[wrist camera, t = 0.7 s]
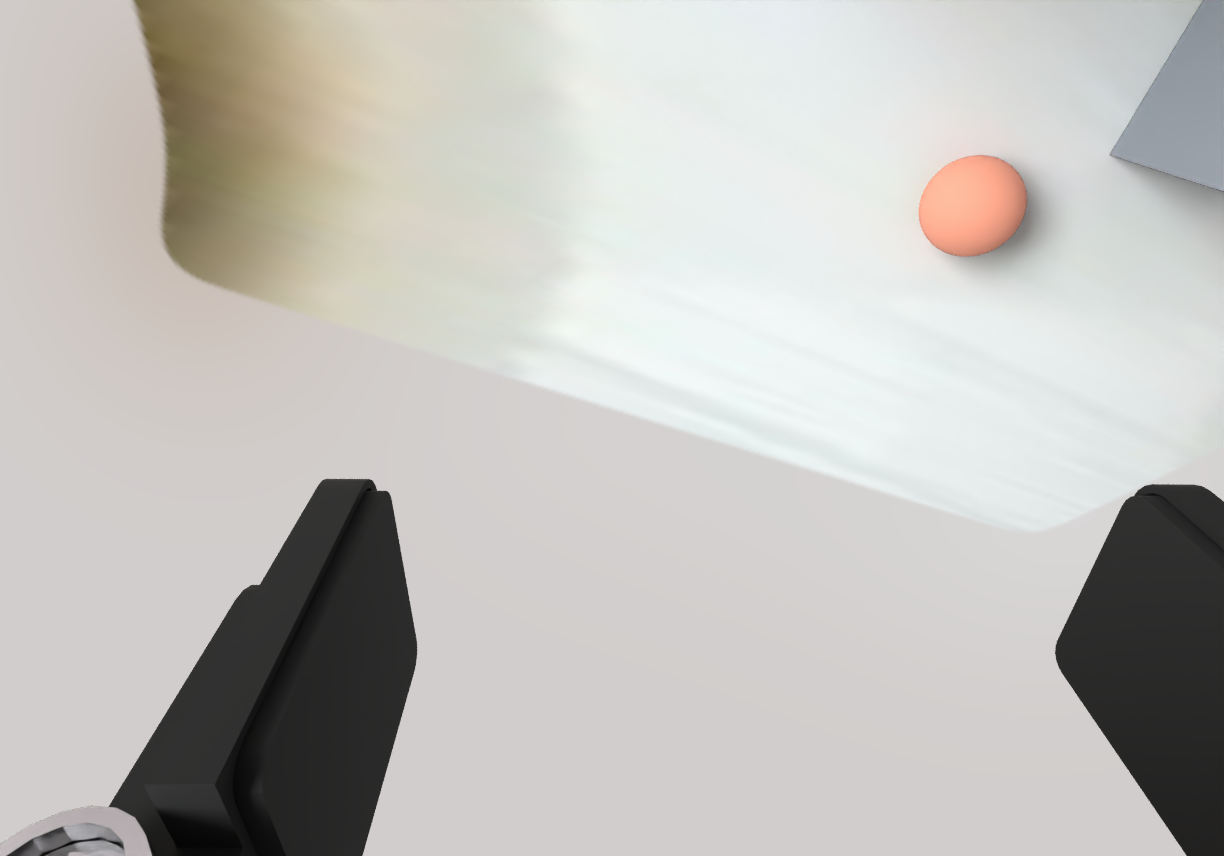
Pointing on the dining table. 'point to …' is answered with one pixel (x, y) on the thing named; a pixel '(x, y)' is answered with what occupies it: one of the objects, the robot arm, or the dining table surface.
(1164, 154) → the grey matte cube
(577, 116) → the dining table surface
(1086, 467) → the dining table surface
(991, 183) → the ball
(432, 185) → the dining table surface
